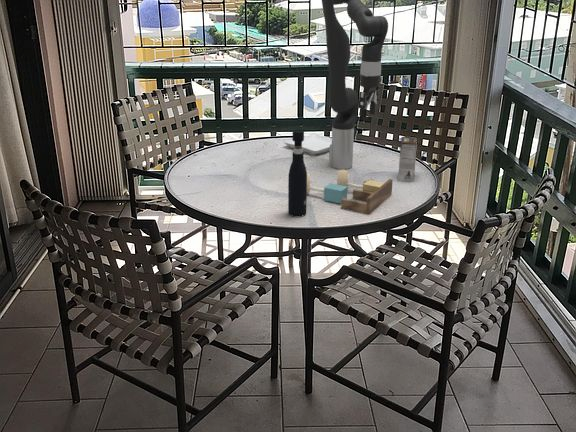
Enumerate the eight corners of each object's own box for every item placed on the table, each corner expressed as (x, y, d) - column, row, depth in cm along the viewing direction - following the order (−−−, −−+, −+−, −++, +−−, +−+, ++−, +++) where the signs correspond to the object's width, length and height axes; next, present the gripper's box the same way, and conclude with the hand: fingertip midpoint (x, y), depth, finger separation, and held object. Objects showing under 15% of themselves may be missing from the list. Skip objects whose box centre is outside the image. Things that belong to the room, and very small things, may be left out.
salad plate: (313, 139, 307) (314, 132, 305) (346, 148, 293) (346, 141, 291) (282, 148, 293) (282, 141, 292) (315, 158, 279) (315, 151, 278)
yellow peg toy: (334, 191, 240) (335, 172, 237) (340, 187, 244) (340, 168, 241) (379, 199, 232) (381, 180, 229) (384, 195, 236) (386, 176, 233)
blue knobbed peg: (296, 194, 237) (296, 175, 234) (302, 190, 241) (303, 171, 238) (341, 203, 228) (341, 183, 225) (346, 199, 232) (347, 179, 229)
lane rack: (340, 208, 225) (341, 192, 223) (364, 189, 243) (365, 174, 241) (369, 214, 220) (370, 198, 218) (391, 194, 238) (392, 179, 236)
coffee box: (398, 173, 260) (401, 136, 254) (414, 174, 259) (417, 137, 253) (397, 180, 252) (400, 142, 246) (413, 182, 251) (417, 143, 245)
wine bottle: (287, 210, 223) (287, 128, 212) (305, 209, 224) (306, 128, 212) (289, 217, 218) (289, 133, 206) (307, 216, 218) (308, 133, 206)
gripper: (368, 69, 236) (366, 111, 242) (353, 75, 224) (351, 119, 231) (387, 71, 232) (384, 113, 239) (372, 77, 221) (370, 122, 228)
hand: (367, 116), depth 235 cm, fingers open, 8 cm apart
